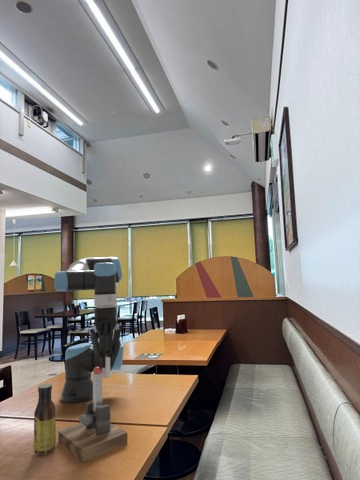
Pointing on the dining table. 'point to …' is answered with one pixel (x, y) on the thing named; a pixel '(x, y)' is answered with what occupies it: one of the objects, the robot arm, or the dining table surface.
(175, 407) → the dining table surface
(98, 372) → the lever
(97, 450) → the base
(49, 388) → the sauce bottle
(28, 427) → the dining table surface
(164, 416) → the dining table surface
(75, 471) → the dining table surface
